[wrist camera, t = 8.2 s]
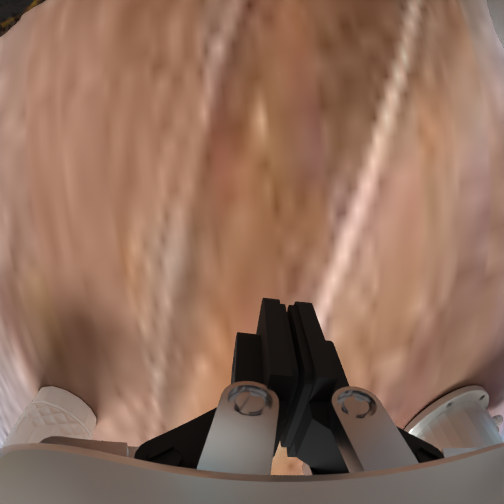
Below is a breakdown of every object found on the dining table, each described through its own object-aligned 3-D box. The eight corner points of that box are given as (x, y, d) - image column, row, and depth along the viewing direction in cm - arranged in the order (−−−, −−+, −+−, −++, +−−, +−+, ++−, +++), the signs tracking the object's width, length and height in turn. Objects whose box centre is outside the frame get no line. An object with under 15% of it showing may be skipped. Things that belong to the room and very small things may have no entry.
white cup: (21, 376, 23) (-23, 449, 14) (84, 383, 24) (45, 474, 14) (53, 428, 26) (25, 497, 17) (114, 437, 26) (92, 517, 17)
